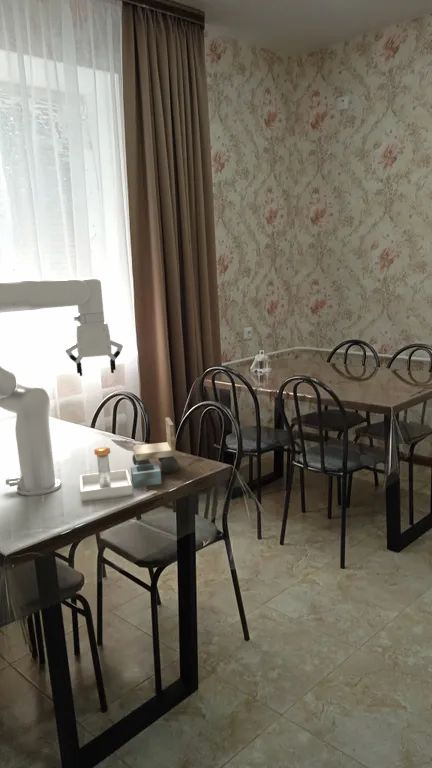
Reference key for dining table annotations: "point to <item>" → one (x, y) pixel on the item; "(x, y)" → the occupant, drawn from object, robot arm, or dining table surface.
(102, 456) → the stop pin
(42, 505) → the dining table surface
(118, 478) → the tray
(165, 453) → the trolley
